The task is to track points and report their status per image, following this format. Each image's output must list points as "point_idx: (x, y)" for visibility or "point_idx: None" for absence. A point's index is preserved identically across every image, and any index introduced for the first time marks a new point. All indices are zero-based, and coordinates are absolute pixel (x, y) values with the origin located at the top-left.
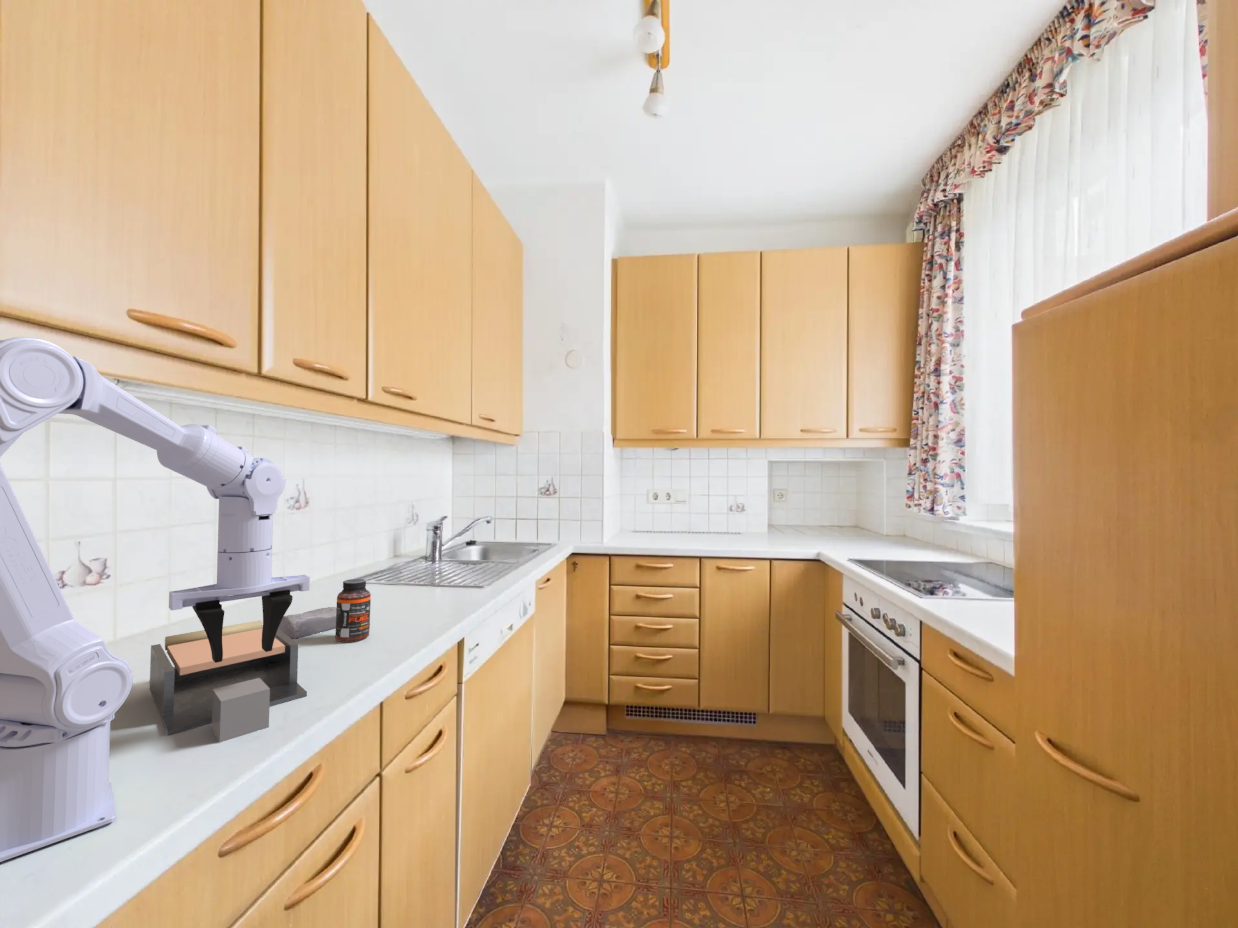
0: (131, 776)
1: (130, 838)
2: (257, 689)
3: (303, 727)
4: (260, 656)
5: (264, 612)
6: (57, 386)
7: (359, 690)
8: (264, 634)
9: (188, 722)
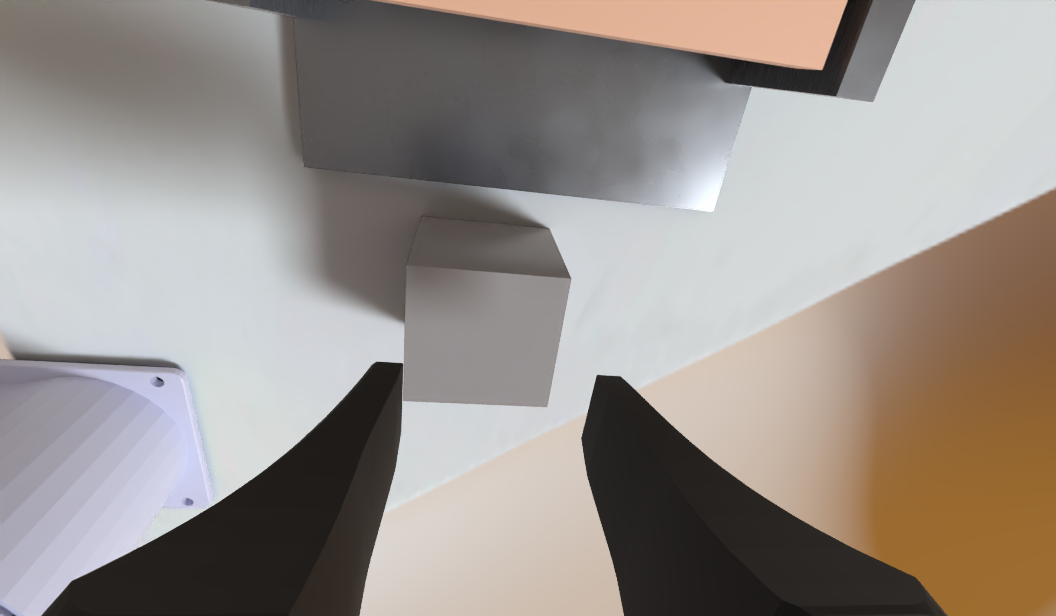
0: (227, 350)
1: None
2: (518, 384)
3: (584, 398)
4: (685, 50)
5: (677, 546)
6: None
7: (806, 297)
8: (613, 458)
9: (364, 153)
